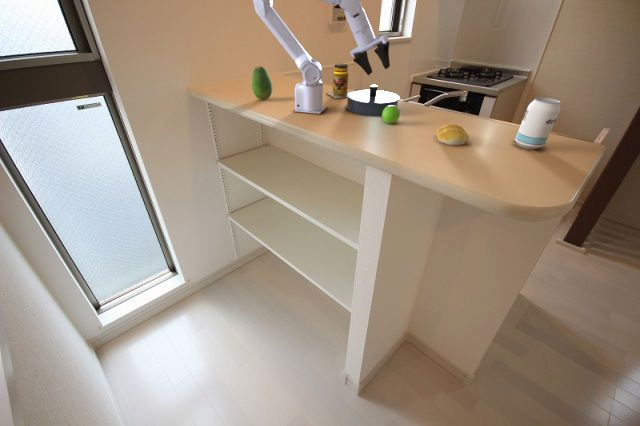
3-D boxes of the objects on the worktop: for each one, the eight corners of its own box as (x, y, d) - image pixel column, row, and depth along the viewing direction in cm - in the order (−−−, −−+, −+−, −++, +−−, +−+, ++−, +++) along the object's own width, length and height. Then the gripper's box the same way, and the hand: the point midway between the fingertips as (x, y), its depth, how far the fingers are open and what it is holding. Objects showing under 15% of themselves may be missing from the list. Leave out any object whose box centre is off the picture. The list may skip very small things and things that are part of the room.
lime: (380, 124, 95) (382, 107, 91) (382, 119, 99) (384, 102, 96) (397, 126, 93) (400, 108, 90) (398, 121, 98) (401, 104, 95)
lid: (341, 103, 103) (342, 89, 100) (352, 91, 117) (352, 79, 115) (397, 108, 98) (399, 93, 96) (400, 95, 113) (402, 82, 111)
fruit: (252, 97, 121) (248, 65, 114) (271, 96, 123) (269, 64, 116) (254, 102, 115) (250, 68, 108) (274, 101, 116) (272, 67, 110)
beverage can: (535, 152, 77) (557, 105, 70) (508, 144, 82) (526, 99, 75) (547, 147, 81) (568, 101, 74) (520, 139, 85) (538, 95, 78)
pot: (342, 113, 105) (342, 101, 102) (352, 100, 119) (353, 90, 117) (394, 118, 101) (396, 105, 98) (398, 104, 115) (399, 93, 113)
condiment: (335, 98, 122) (337, 66, 115) (327, 93, 128) (328, 62, 121) (351, 97, 124) (353, 65, 117) (342, 92, 131) (344, 62, 124)
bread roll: (438, 145, 81) (442, 130, 79) (434, 134, 88) (437, 120, 86) (471, 147, 80) (475, 133, 77) (463, 136, 87) (467, 122, 85)
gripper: (386, 14, 89) (402, 58, 96) (352, 32, 100) (369, 70, 107) (373, 24, 86) (391, 69, 93) (340, 41, 98) (358, 80, 104)
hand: (378, 70), depth 100 cm, fingers open, 7 cm apart
